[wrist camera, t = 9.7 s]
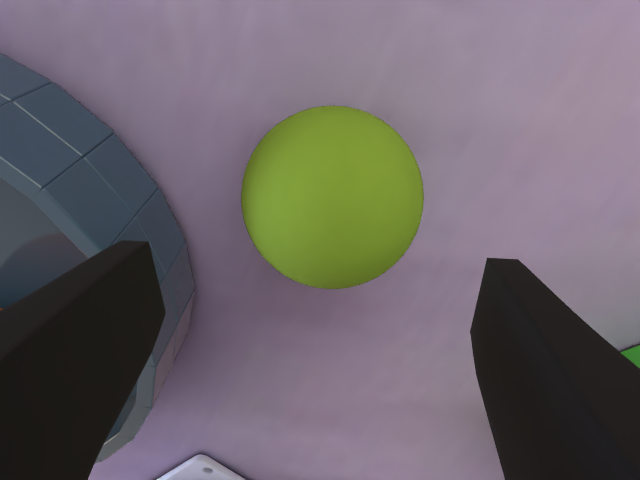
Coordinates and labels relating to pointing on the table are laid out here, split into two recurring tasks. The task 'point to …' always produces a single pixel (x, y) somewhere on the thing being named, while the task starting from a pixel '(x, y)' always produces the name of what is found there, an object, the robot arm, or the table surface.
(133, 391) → the bowl
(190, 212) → the table surface
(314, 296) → the table surface
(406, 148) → the lime
